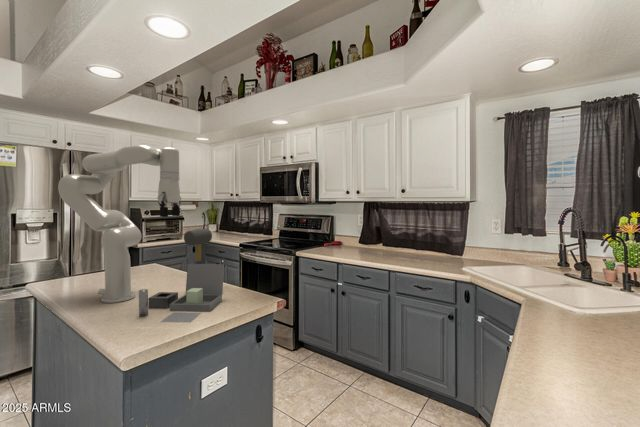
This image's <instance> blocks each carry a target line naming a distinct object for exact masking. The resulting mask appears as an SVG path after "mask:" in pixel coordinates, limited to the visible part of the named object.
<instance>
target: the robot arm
mask: <svg viewBox="0 0 640 427" xmlns="http://www.w3.org/2000/svg"><path fill="white" fill-rule="evenodd" d="M137 164H142V165H143V164H144V165H149V166H154V167H159V181H158V182H159V183H158V193H157V198H156V199H157V200H158V202H157V204H158V207H159V217H160V218H168V217H169V207H168V205H169V203H170V204H171V205H172V207H171V209H172V210H171V211H172V212H171V213H172V214H171V216H173V217H179V216H180V214H181V212H180V210H181V204H182V203H181V201H182V197H181V191H180V182H179V181H180V151H179V149H177V148H174V147H161V148H160V149H159V148H157V147H152V146H149V145H144V144H138V145H130V146H124V147H121V148H119V149H117V150H115V151H107V152H99V153H91V154H88V155H87V156H84V157H83V159H82V161H81V166H82V168H83V169H84V170H85V171H86V172H88V173H90V174H91V175H87V174H86V175H85V174H78V173H77V174H76V173H74V174H66V175H64V176H62V177H61V178H60V180H59V181H58V185H57V186H58V187H57V188H58V194H59V196H60V198H61V199H62V201H63V202H64V203H65V205H67V206H68V207H69V208H70V209H71V210H73V211H74V212H75V213H76V214H77V215H78V216H79V218H81V219H82V220H83V221H84V222H85V224H86V225H88V227H89V228H90V229H91V230H93V231H95V232H103V233H102V235H101V240H100V241H101V246H102V250H103V258H104V260H103V261H104V288H100V289H99V290H98V291H97V293H96V294H97V295H102V297H101V298H100V302H102V303H104V304H105V303H106V304H113V303H122V302H127V301H129V300H132V299H133V298H135V297H136V293H135V292H133V291H132V284H131V282H132V278H131V275H132V274H131V272H132V271H131V269H132V268H131V256H130V252H129V249H128V248H130V247H133V246H136V245H138V244H140V242H141V240H142V232H141V230H140V229H139V227H138V226H137V225H136V224H135V223H134V222H133V221H132V220H130V219H129V217H128V216H126V215H125V213H123V212H122V211H119V210H118V209H105V208H103V207H102V206H101V205H100V204H99V203H98V202H97V201H96V200H94V199H93V198H92V197H90V196H88V195H96V194H99V193H101V192H102V191H103V190H104V189H105V188H106V187H107V185H108V184H109V183H110V182H111V181H112V179H113V178H114V177H115V175H116V174H117V172H121V171H126V169H128V166H129V165H137Z"/></svg>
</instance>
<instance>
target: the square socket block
mask: <svg viewBox="0 0 640 427" xmlns="http://www.w3.org/2000/svg"><path fill="white" fill-rule="evenodd" d="M177 299H179V292H178V291H177V292H173V291H172V292H171V291H170V292H168V291H166V292H165V291H160V292H157V293H155V294H153V295H151V296H148V309H170V304H171V303H172V302H174V301H176V300H177Z"/></svg>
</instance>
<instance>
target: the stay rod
mask: <svg viewBox="0 0 640 427" xmlns="http://www.w3.org/2000/svg"><path fill="white" fill-rule="evenodd" d="M148 298H149V290H148V288H147V289H146V288H144V289H143V288H142V289H139V290H138V317H139V318H143V317H144V318H145V317H147V316H149V302H148Z"/></svg>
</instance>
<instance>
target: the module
mask: <svg viewBox="0 0 640 427" xmlns="http://www.w3.org/2000/svg"><path fill="white" fill-rule="evenodd" d="M185 294H186V304H203V288H191V289H190V290H188V291H187V292H186V291H185Z"/></svg>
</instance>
